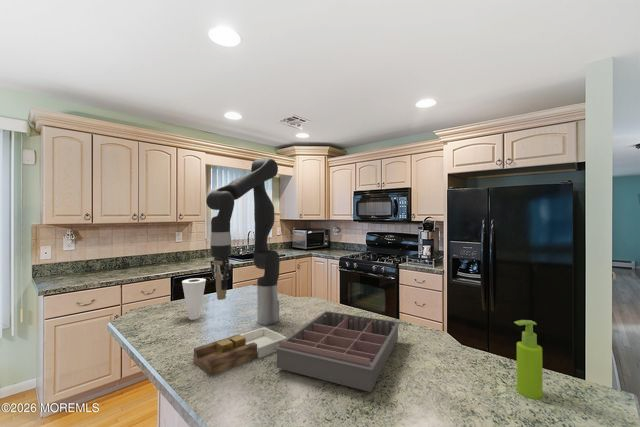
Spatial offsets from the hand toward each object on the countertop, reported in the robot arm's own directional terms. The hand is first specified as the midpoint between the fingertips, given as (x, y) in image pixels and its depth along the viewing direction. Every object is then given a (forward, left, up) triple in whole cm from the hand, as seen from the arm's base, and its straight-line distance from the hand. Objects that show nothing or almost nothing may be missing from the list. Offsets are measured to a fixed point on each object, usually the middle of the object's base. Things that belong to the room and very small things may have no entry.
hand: (221, 288), depth 116 cm
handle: (0, 0, -4) cm, 4 cm away
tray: (-10, +12, -22) cm, 26 cm away
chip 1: (+5, +12, -20) cm, 23 cm away
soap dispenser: (-45, +90, -22) cm, 103 cm away
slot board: (+5, +12, -22) cm, 25 cm away
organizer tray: (-26, +39, -22) cm, 52 cm away
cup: (-5, -37, -22) cm, 43 cm away
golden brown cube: (0, +12, -20) cm, 23 cm away
